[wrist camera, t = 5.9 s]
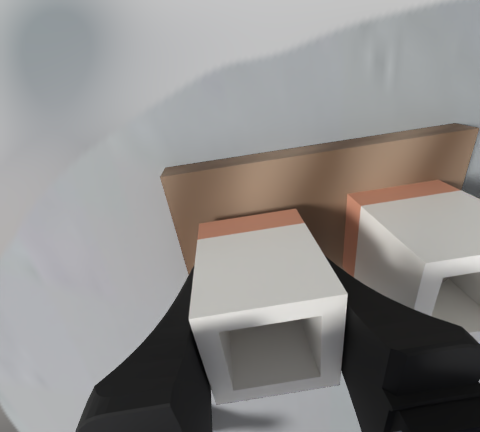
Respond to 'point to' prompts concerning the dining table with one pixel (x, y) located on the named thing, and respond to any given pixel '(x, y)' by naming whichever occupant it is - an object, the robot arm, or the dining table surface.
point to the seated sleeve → (418, 248)
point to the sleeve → (265, 308)
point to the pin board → (313, 181)
